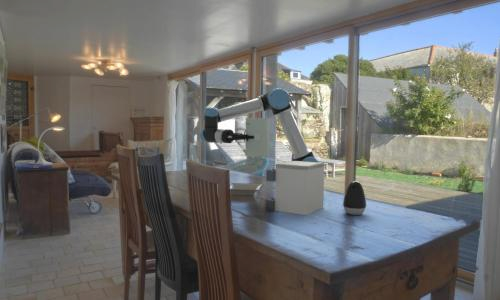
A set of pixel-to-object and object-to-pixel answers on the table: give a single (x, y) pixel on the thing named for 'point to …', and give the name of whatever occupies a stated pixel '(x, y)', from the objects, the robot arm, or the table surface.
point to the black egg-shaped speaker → (354, 199)
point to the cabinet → (299, 187)
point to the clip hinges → (271, 203)
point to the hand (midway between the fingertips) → (261, 137)
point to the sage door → (263, 129)
